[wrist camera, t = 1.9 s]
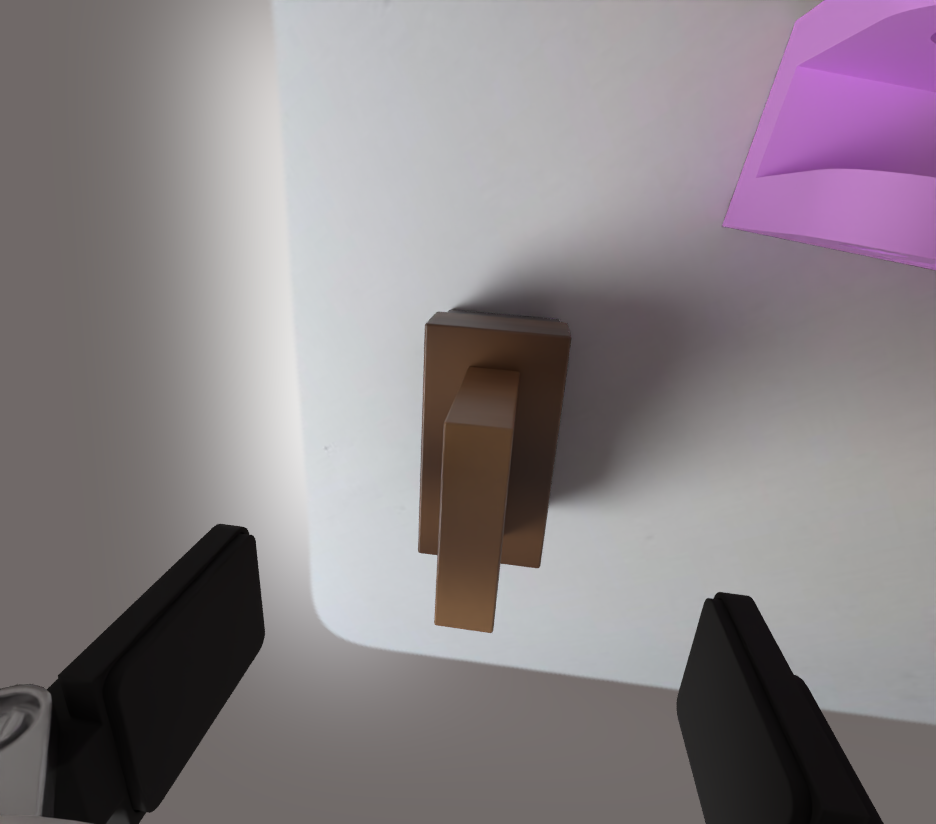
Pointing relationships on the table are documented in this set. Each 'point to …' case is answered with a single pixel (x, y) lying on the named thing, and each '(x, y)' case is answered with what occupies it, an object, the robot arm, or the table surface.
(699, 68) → the table surface
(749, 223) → the bracket
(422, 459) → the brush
